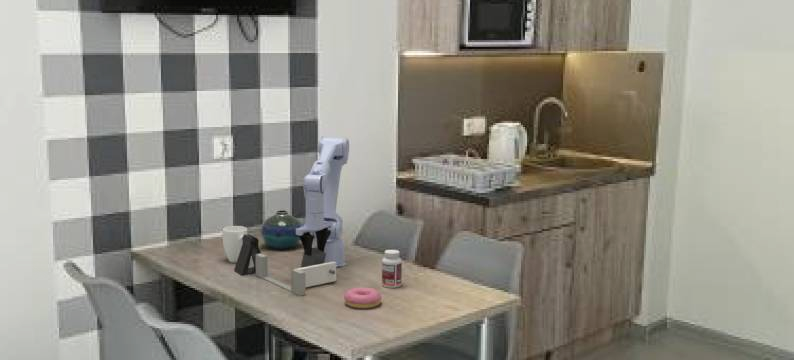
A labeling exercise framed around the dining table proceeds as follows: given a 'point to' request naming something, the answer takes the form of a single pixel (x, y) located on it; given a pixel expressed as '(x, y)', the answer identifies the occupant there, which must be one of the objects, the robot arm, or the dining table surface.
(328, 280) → the door
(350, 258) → the dining table surface
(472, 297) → the dining table surface
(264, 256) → the grey u-shaped bar
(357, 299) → the doughnut
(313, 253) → the dark grey block
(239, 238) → the mug
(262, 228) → the vase
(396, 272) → the pill bottle
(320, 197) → the robot arm
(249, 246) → the phone stand
